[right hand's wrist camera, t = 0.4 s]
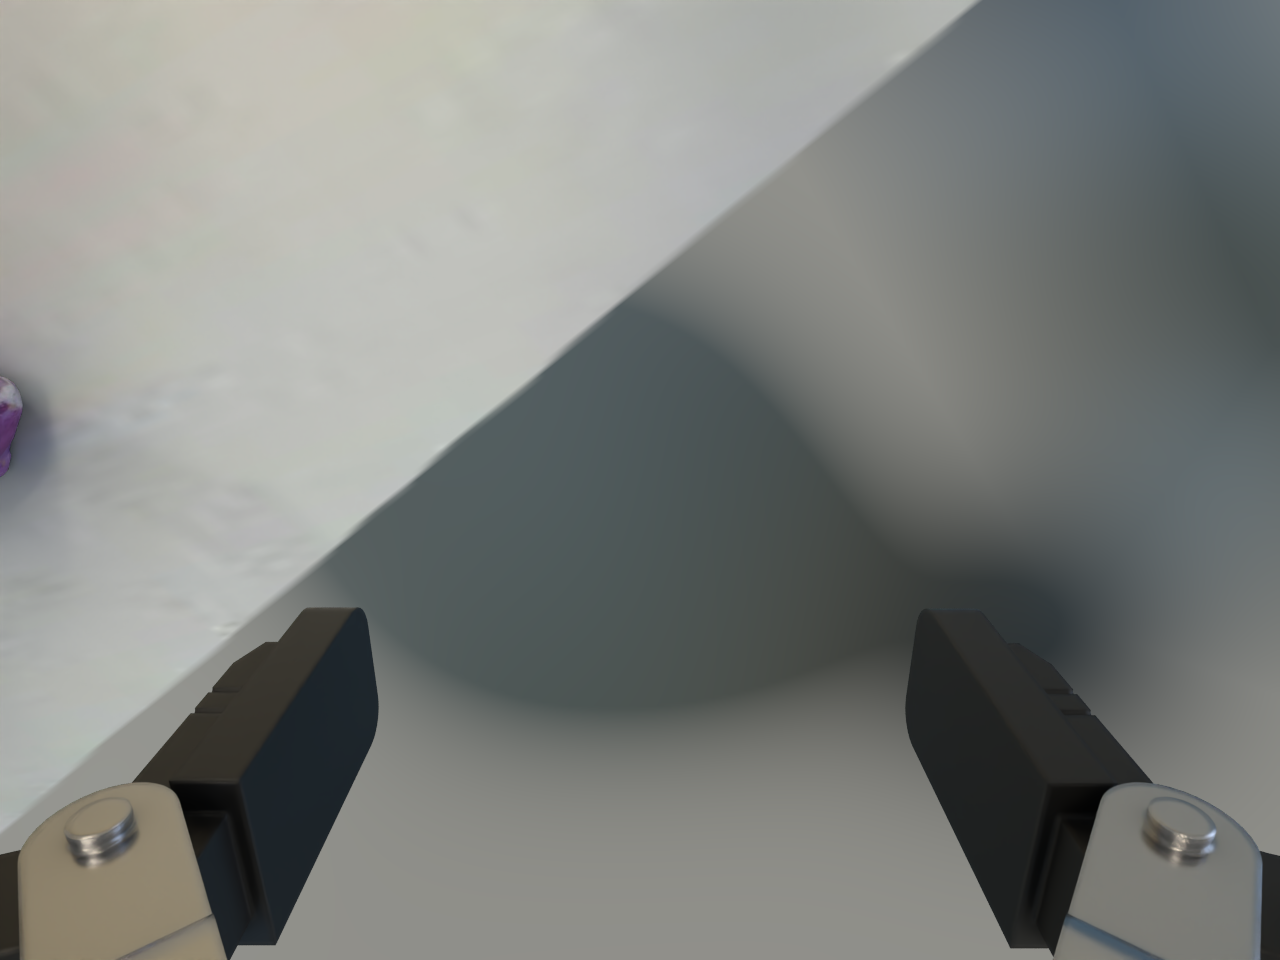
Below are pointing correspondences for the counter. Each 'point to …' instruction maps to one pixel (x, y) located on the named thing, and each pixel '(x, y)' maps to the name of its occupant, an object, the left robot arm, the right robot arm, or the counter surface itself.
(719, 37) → the counter surface
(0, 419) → the figurine
